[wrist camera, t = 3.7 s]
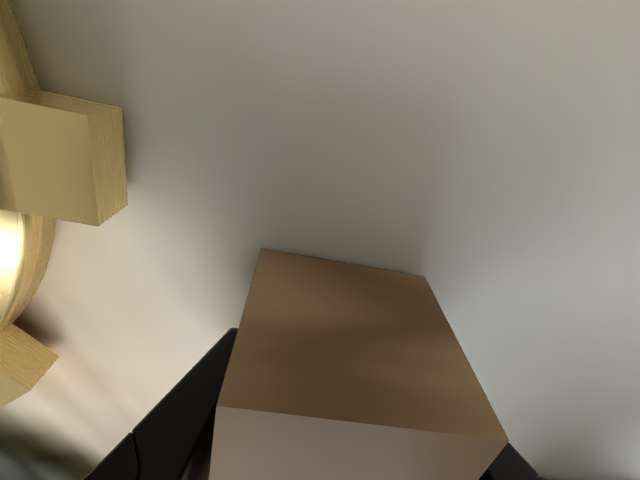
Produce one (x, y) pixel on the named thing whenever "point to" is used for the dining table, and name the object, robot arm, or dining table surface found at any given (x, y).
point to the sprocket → (45, 191)
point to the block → (348, 381)
